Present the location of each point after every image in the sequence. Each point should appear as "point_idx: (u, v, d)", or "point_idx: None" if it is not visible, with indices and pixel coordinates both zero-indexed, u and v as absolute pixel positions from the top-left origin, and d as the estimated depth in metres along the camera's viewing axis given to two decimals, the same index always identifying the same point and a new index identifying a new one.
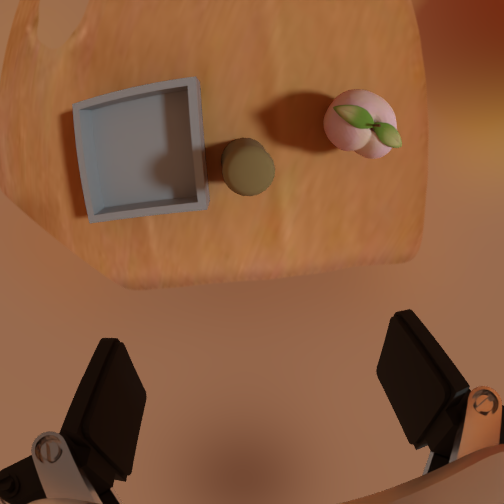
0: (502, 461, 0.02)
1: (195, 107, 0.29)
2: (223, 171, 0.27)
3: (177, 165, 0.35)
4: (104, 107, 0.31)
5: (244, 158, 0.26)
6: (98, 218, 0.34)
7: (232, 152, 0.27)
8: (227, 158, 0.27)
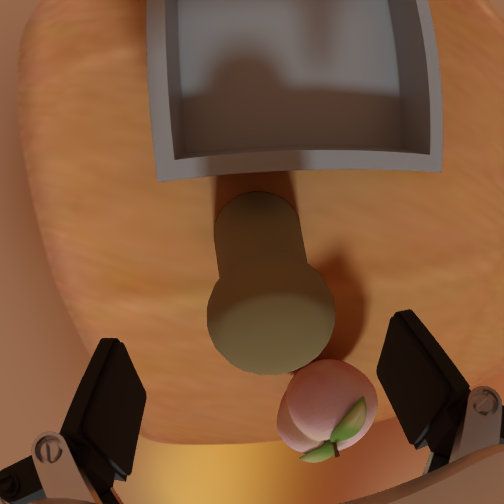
0: (502, 461, 0.02)
1: (391, 164, 0.14)
2: (276, 271, 0.10)
3: (255, 105, 0.16)
4: None
5: (313, 330, 0.10)
6: None
7: (325, 291, 0.10)
8: (312, 281, 0.10)
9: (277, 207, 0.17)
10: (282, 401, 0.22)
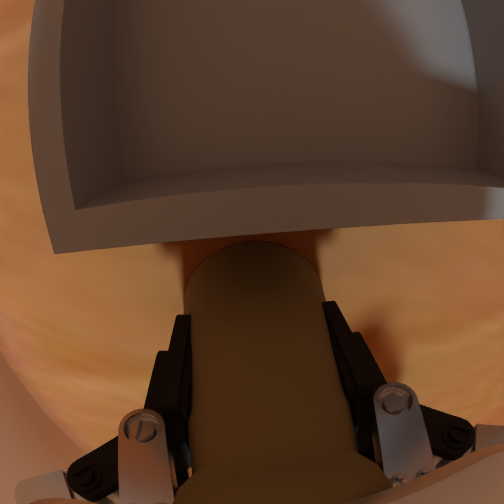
0: (502, 461, 0.02)
1: (494, 210, 0.06)
2: None
3: (249, 85, 0.08)
4: None
5: None
6: None
7: None
8: None
9: (290, 279, 0.09)
10: None
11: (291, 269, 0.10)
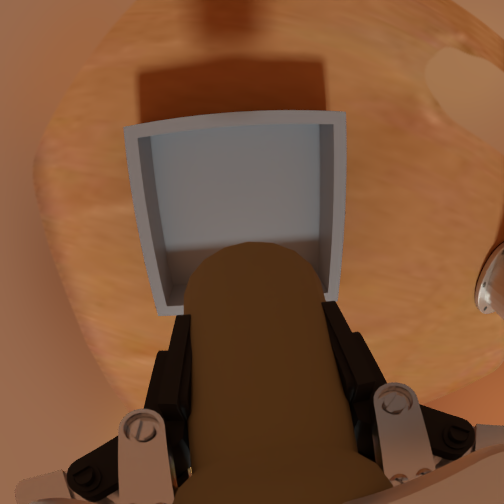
0: (502, 461, 0.02)
1: None
2: None
3: None
4: (318, 148, 0.23)
5: None
6: (131, 146, 0.18)
7: None
8: None
9: (290, 279, 0.09)
10: None
11: (291, 269, 0.10)
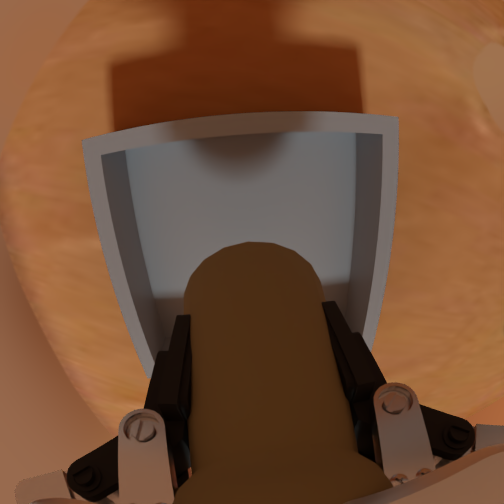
0: (502, 461, 0.02)
1: None
2: None
3: None
4: (354, 164, 0.17)
5: None
6: (93, 167, 0.12)
7: None
8: None
9: (290, 279, 0.09)
10: None
11: (291, 269, 0.10)
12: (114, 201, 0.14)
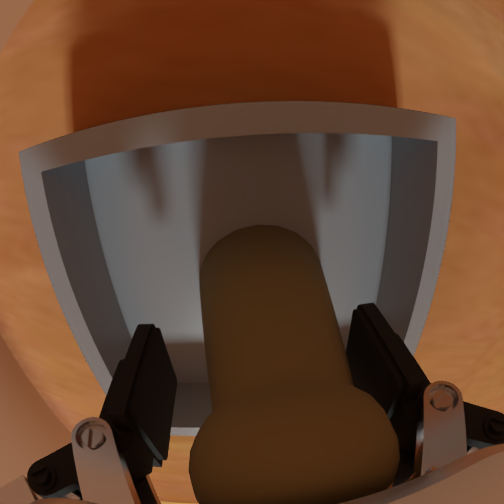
0: (502, 461, 0.02)
1: None
2: (318, 449, 0.04)
3: None
4: (388, 177, 0.12)
5: None
6: (34, 189, 0.08)
7: (394, 449, 0.04)
8: (379, 448, 0.04)
9: (294, 254, 0.11)
10: None
11: (294, 246, 0.12)
12: (66, 233, 0.10)
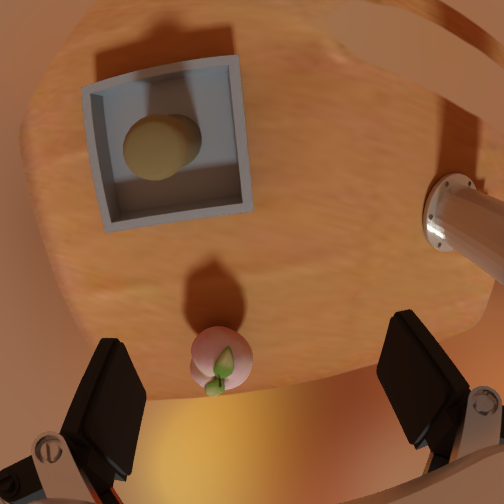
0: (502, 461, 0.02)
1: (216, 213, 0.29)
2: (152, 115, 0.19)
3: (151, 185, 0.30)
4: (228, 89, 0.27)
5: (169, 140, 0.19)
6: (86, 99, 0.22)
7: (177, 124, 0.19)
8: (168, 118, 0.19)
9: (179, 117, 0.26)
10: None
11: (181, 116, 0.26)
12: (95, 117, 0.24)
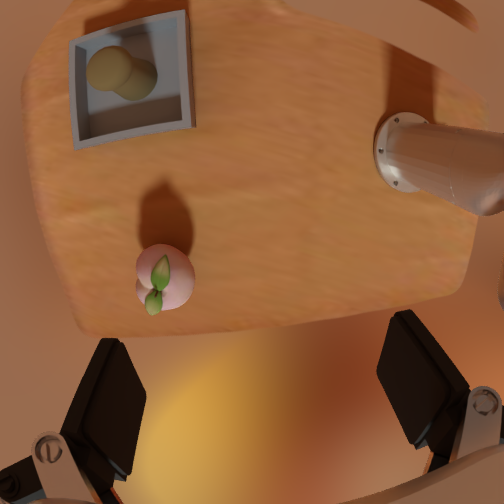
0: (502, 461, 0.02)
1: (160, 129, 0.31)
2: (108, 46, 0.21)
3: (116, 115, 0.32)
4: None
5: (115, 58, 0.21)
6: (72, 49, 0.25)
7: (123, 49, 0.21)
8: (118, 46, 0.21)
9: None
10: None
11: (141, 59, 0.28)
12: (77, 62, 0.26)
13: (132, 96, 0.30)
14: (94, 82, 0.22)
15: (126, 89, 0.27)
